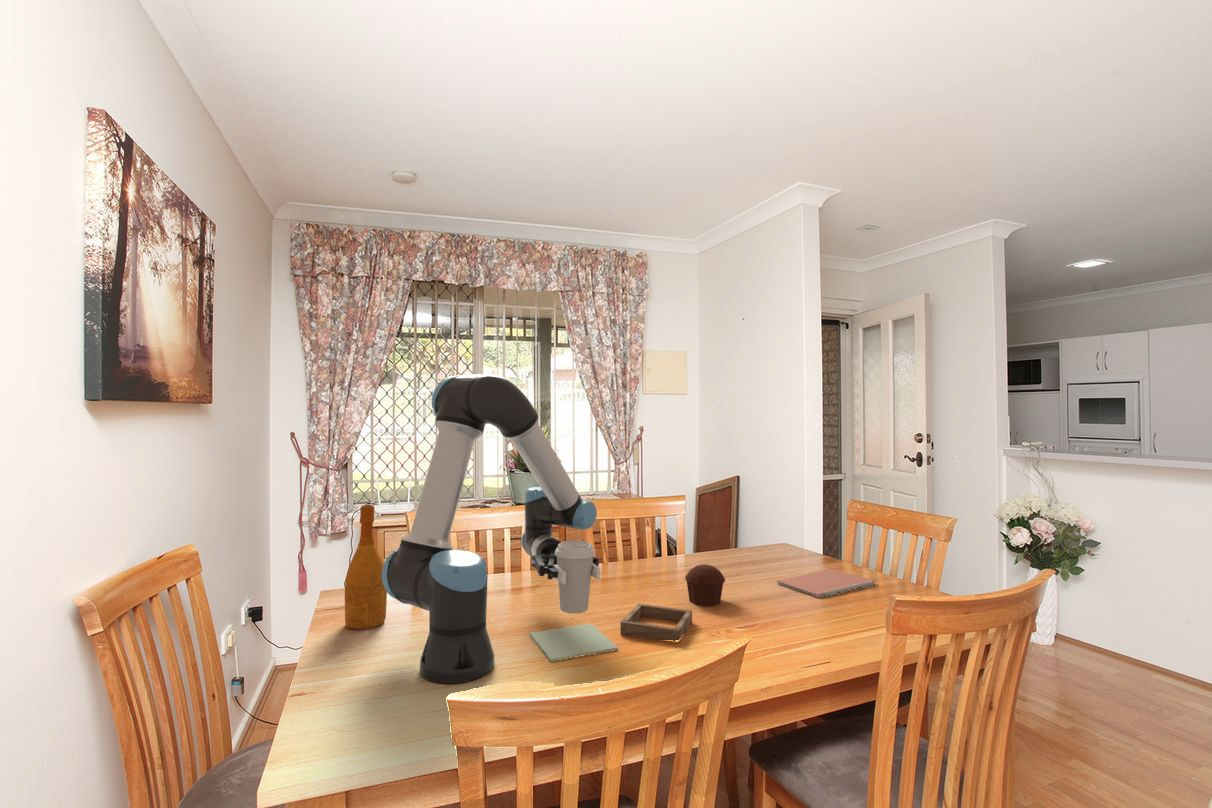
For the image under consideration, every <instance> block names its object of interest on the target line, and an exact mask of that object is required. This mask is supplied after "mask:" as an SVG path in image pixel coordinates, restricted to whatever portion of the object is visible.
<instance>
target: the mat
mask: <svg viewBox="0 0 1212 808" xmlns="http://www.w3.org/2000/svg"><path fill="white" fill-rule="evenodd" d="M529 637H530V638H531V640H533V642H534V644H536V645H537V647H538V646H539V647H540V648H539V647H538V648H539V649H540V651H541V652H542V651H543V652H544V653H545V654H544V653H543V652H542V653H543V654H544V655H545V657H546V656H547V657H548V658H547V657H546V658H547V660H548V661H549V662H550V661H554V662H556V661H555V660H559V659H565V658H570V657H575V656H581V655H588V654H593V655H595V654H594V653H599V654H601V653H600V652H604V653H607V652H606V651H610V652H614V651H613V650H616V651H618V650H619V647H618V646H617V645H616V644H615V643H614V642H612V641H611V640H610V639H609V638H608V637H607V636H606V635H605V634H604V633H602V632H601V631H600V630H599V629H598V628H597V627H596V626H595V625H593V624H592V623H586V624H585V623H584V624H578V625H572V626H564V627H558V628H552V629H547V630H546V629H545V630H538V631H533V632H529ZM588 656H589V655H588ZM565 660H566V659H565Z"/></svg>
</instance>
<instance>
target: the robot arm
mask: <svg viewBox="0 0 1212 808" xmlns="http://www.w3.org/2000/svg"><path fill="white" fill-rule="evenodd" d="M431 408H432V409H433V414H434V416H435V420H434V426H435V427H436V428H437V430H438V434H437V438H436V441H435V444H434V449H433V452H432V455H431V458H430V463H429V466H428V469H427V473H426V476H425V479H424V483H423V487H422V491H421V495H420V497H419V502H418V505H417V509H416V513H415V516H414V519H413V523H412V526H411V529H410V532H409V533H408V534H406V535H405V536H403V537H402V538H401V540H400V544H399V547H398V548H396V549H394V550H393V551H392V553H390V554H389V555H388V556H387V557H386V559H385V561H384V562H383V564H384V565H383V569H382V582H383V586H384V588H385V590H386V591H387V595H389V596H390V597H391V598H392V599H395V600H396V601H398V602H400V603H402V604H405V605H411V606H414V607H416V608H419V609H421V610H425V611H428V612H429V616H428V617H429V621H428V622H429V623H428V624H429V625H428V627H429V630H428V631H429V632H428V636H427V639H426V641H425V645H424V647H423V651H422V654H421V657H420V660H419V673H420V675H421V677H422V678H424V679H425V680H427V681H429V682H432V683H437V684H445V683H452V684H458V683H457V682H462V683H466V681H467V682H470V680H471V681H474V679H475V680H477V679H480V678H482V677H485V676H486V675H487V674H489V673H490V672H491V671H492V670H493V668H494V666H495V653H494V649H493V646H492V644H491V643H492V642H491V638H490V636H489V634H488V630H487V608H488V607H487V600H488V574H487V571H488V570H487V562H486V560H485V559H484V558H483V557H482V556H481V555H479V554H477V553H474V552H473V551H469V550H459V549H454V548H453V546H452V544H451V542H450V540H449V538H450V535H451V531H452V528H453V523H454V520H455V517H456V512H457V508H458V504H459V501H460V497H461V494H462V490H463V486H464V481H465V477H466V474H467V470H468V466H469V463H470V459H471V456H472V451H473V448H474V444H475V440H478V438H480V437H482V436H483V435H484V431H485V427H486V424H487V425H492V426H493V427H495V428H497V430H499V432H500V433H501V435H502V436H503V437H504V438H506V439H510V441H511V443H512V444H513V446H514V447H515V450H517V453H518V454H519V455H520V457H521V458H522V460H523V462H524V463H525V465H526V467H527V468H528V470H529V472H530V473H531V475H532V476H533V478H534V480H535V481H536V482H537V484H538V486H532V487H529V488H527V489H526V491H525V499H524V532H523V534H522V536H521V538H520V545H521V547H522V549H523V550H524V551H525V553H526V554H527V555H528V556H530V557H531V567H533V568H535V570H536V572H537V573H538V575H539V576H540V577H544V576H545V575H547V579H548V580H553V579H556V580H557V581H559V582H560V583H562V584H566V572H565V571H564V570H563V569H561V568H560V567H558V566H557V556H556V555H555V550H556V548H557V547H558V544H559V543H561V542H562V541H560V540H558V539H557V538H556V537H554V536H553V526H560V527H565V528H570V529H575V530H589V529H591V527H593V526H594V524H595V522H596V520H597V517H598V515H597V514H598V513H597V506H596V505H595V504H594V502H593V501H589V500H587V499H582V497H581V495H580V494H579V492H578V490H577V488H576V487H575V485H574V483H573V482H572V480H571V478H570V476H569V475H568V473H567V471H566V469H565V468H564V466H563V464H562V463H561V460H560V459H559V457H558V456H557V454H556V452H555V451H554V449H553V447H552V445H551V443H550V442H549V440H548V438H547V437H546V434H545V433H544V431H543V430H542V428H541V426H540V425H539V423H538V421H539V413H537V411H536V409H535V407H534V406H533V405H532V403H531V401H530V400H529V398H528V397H527V396H526V395H525V394H524V393H523V391H521V389H520V388H518V386H517V385H515V383H513V382H512V381H511V380H509V379H507V378H506V377H504V376H503V375H499V374H493V373H491V374H490V373H488V374H486V373H485V374H467V375H466V374H458V375H454V376H453V375H452V376H449V377H446V378H444V379H443V380H442V381H440V382H439V383H438V385H436V387H435V388H434V390H433V392H432V397H431ZM599 562H600V560H599V558H597V557H595V556H593V563H592V572H591V578H593V579H596V581H599V580H601V567H600V566H599ZM559 582H558V583H559Z"/></svg>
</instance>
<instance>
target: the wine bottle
mask: <svg viewBox="0 0 1212 808" xmlns="http://www.w3.org/2000/svg"><path fill="white" fill-rule="evenodd" d="M359 510H360V516H359V517H360V518H359V523H360V526H361V527H360V536H359V542H358V543H357V548H356V550H355V553H354V554H353V556H352V559H351V561H350V563H349V565H348V569H347V571H346V576H345V581H344V621H345V622H344V623H345V626H346V627H348V628H349V629H352V630H368V629H373V628H377V627H379V626H380V625H382V624H383V623H384V622H385V621H386V617H387V602H388V601H387V599H388V593H387V591H386V590H385V588H384V586H383V582H382V569H383V565H384V561H383V559H382V557H381V554H380V553H379V551H378V548H377V545H376V543H375V538H374V533H373V528H374V527H373V526H374V522H375V507H374V505H373V504H363V505H361V506H360V507H359Z"/></svg>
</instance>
